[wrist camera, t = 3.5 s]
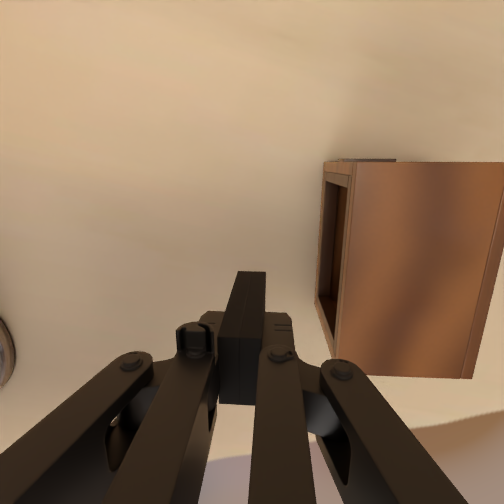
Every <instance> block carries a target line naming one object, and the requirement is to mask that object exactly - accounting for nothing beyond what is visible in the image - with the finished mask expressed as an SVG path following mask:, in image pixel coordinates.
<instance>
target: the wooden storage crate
mask: <svg viewBox="0 0 504 504" xmlns="http://www.w3.org/2000/svg"><path fill="white" fill-rule="evenodd" d="M503 248H504V162H396V159H338V162H324V167H323V182H322V198H321V213H320V228H319V243H318V258H317V273H316V288H315V303H314V304H315V307H316V310H317V313H318V316H319V319H320V322H321V326H322V329H323V332H324V335H325V338H326V341H327V344H328V347H329V351H330V354H331V357H332V359H343V360H348V361H350V362H352V363H354V364H356V365H357V366H358V367H359V368H361V369H362V371H363V372H364V373H365V375H374V376H400V377H425V378H451V379H460V378H461V379H472V377H473V373H474V369H475V364H476V360H477V356H478V352H479V348H480V344H481V339H482V335H483V331H484V327H485V323H486V319H487V314H488V310H489V306H490V302H491V298H492V294H493V289H494V285H495V281H496V277H497V273H498V269H499V265H500V260H501V256H502V252H503Z"/></svg>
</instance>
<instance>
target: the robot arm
mask: <svg viewBox="0 0 504 504" xmlns="http://www.w3.org/2000/svg"><path fill="white" fill-rule="evenodd" d="M265 288H266V272H252V271H238V273H237V276H236V279H235V282H234V285H233V289H232V292H231V295H230V298H229V301H228V304H227V307H226V310H225V312H223V311H207V312H206V313H205V314H203V315H202V316H201V318H200V320H199V322H190V323H186V324H183V325H182V326H180V327H178V329H177V330H176V342H177V353H176V355H175V357H174V358H172V359H168V360H163V361H157V362H153V359H152V356H151V355H150V354H148V353H146V352H141V351H134V352H129V353H126V354H123V355H121V356H119V357H118V358H116V359H115V360H114V361H112V362H111V363H110V364H109V365H108V366H106V367H105V368H104V369H103V370H101V371H100V372H99V373H98V374H97V375H95V376H94V377H93V378H92V379H91V380H89V381H88V382H87V383H86V384H85V385H83V386H82V387H81V388H80V389H79V390H77V391H76V392H75V393H74V394H73V395H71V396H70V397H69V398H68V399H67V400H65V401H64V402H63V403H62V404H60V405H59V406H58V407H57V408H56V409H54V410H53V411H52V412H51V413H50V414H48V415H47V416H46V417H45V418H44V419H42V420H41V421H40V422H39V423H38V424H36V425H35V426H34V427H33V428H32V429H30V430H29V431H28V432H27V433H26V434H24V435H23V436H22V437H21V438H20V439H18V440H17V441H16V442H15V443H13V444H12V445H11V446H10V447H9V448H7V449H6V450H5V451H4V452H3V453H1V454H0V504H198V499H199V495H200V491H201V486H202V481H203V476H204V472H205V467H206V463H207V458H208V454H209V449H210V445H211V440H212V435H213V431H214V426H215V422H216V417H217V399H218V395H219V404H236V405H255V417H254V430H253V444H252V457H251V470H250V483H249V497H248V504H316V497H315V488H314V481H313V472H312V464H311V456H310V448H309V440H308V432H310V433H313V434H315V435H316V440H317V443H318V445H319V447H320V450H321V452H322V454H323V457H324V459H325V461H326V464H327V466H328V468H329V470H330V473H331V475H332V477H333V480H334V482H335V484H336V487H337V489H338V491H339V493H340V496H341V498H342V501H343V503H344V504H468V503H467V501H466V500H465V499H464V498H463V496H462V495H461V494H460V493H459V491H458V490H457V489H456V487H455V486H454V485H453V484H452V482H451V481H450V480H449V479H448V477H447V476H446V475H445V474H444V472H443V471H442V470H441V469H440V467H439V466H438V465H437V464H436V462H435V461H434V460H433V459H432V457H431V456H430V455H429V454H428V452H427V451H426V450H425V449H424V447H423V446H422V445H421V444H420V442H419V441H418V440H417V439H416V437H415V436H414V435H413V433H412V432H411V431H410V430H409V428H408V427H407V426H406V425H405V423H404V422H403V421H402V420H401V418H400V417H399V416H398V415H397V413H396V412H395V411H394V410H393V408H392V407H391V406H390V405H389V403H388V402H387V401H386V400H385V398H384V397H383V396H382V395H381V393H380V392H379V391H378V390H377V388H376V387H375V386H374V385H373V383H372V382H371V381H370V380H369V378H368V377H367V376H366V375H365V373H364V372H363V371H362V369H361V368H359V367H358V366H357V365H356V364H354V363H352V362H350V361H348V360H343V359H330V360H326V361H325V362H324V363H322V365H321V368H320V367H316V366H312V365H309V364H307V363H305V362H303V361H302V360H301V359H299V358H298V355H297V353H296V351H295V345H294V337H293V329H292V320H291V318H290V317H289V316H288V314H287V313H277V312H265ZM13 366H14V349H13V344H12V341H11V338H10V335H9V333H8V331H7V329H6V327H5V326H4V324H3V322H2V321H1V320H0V388H1V387H2V386H3V385H4V384H5V383H6V382H7V381H8V379H9V377H10V375H11V373H12V370H13ZM116 416H117V418H116V419H115V420H114V421H113V422H112V420H113V419H114V418H115V417H116ZM111 422H112V423H111ZM110 423H111V424H110Z"/></svg>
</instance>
